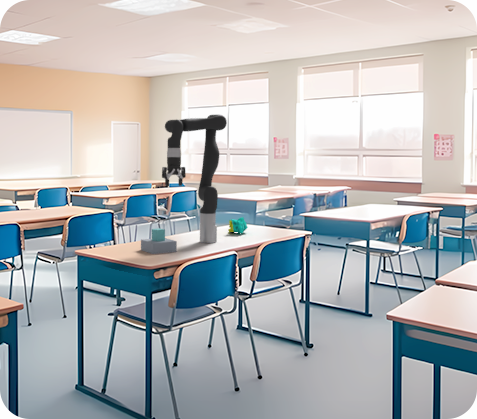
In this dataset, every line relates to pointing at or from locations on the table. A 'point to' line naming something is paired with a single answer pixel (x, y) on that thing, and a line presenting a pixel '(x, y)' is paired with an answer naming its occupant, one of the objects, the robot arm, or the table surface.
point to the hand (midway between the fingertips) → (173, 185)
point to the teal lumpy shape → (237, 225)
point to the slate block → (158, 246)
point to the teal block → (158, 234)
